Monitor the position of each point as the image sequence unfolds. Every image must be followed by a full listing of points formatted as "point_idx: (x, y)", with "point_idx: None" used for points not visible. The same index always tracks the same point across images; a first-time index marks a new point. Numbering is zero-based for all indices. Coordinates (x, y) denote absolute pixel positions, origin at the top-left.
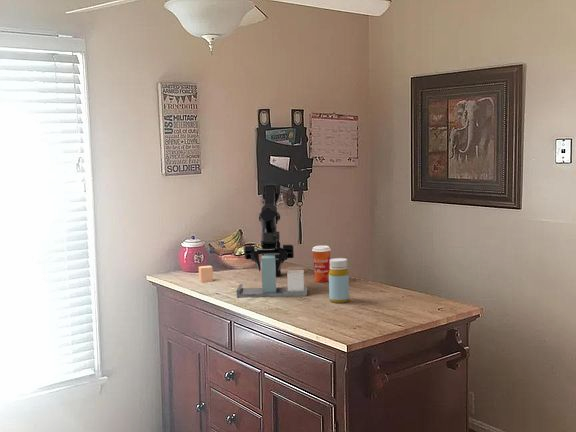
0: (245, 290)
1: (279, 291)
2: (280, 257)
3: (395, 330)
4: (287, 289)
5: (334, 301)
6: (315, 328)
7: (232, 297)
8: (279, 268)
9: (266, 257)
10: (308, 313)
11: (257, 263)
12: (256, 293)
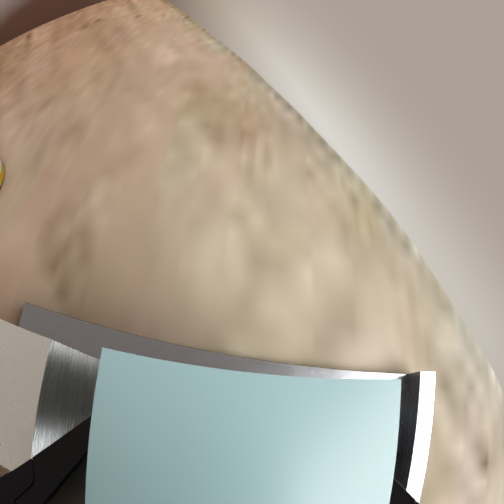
0: None
1: None
2: (8, 500)
3: (52, 21)
4: None
5: (2, 163)
6: (165, 18)
7: None
8: None
9: (287, 465)
10: (132, 80)
11: (397, 485)
12: (315, 376)
